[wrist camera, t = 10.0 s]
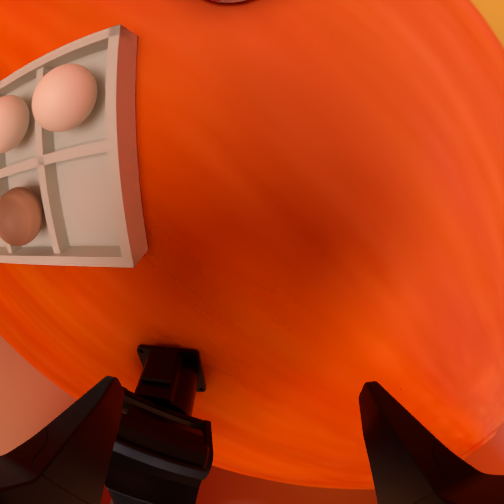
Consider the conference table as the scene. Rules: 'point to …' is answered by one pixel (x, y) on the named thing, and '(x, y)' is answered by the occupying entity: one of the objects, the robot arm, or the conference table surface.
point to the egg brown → (20, 216)
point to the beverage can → (227, 1)
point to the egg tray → (82, 162)
